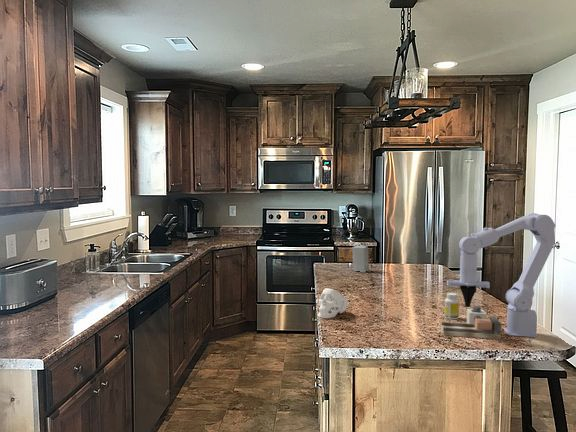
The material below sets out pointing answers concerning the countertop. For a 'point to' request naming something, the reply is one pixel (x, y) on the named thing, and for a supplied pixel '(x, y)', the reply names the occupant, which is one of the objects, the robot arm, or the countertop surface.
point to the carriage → (483, 324)
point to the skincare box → (360, 258)
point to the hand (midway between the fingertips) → (467, 306)
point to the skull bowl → (331, 303)
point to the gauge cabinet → (474, 316)
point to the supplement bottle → (451, 306)
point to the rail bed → (472, 330)
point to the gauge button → (477, 309)
